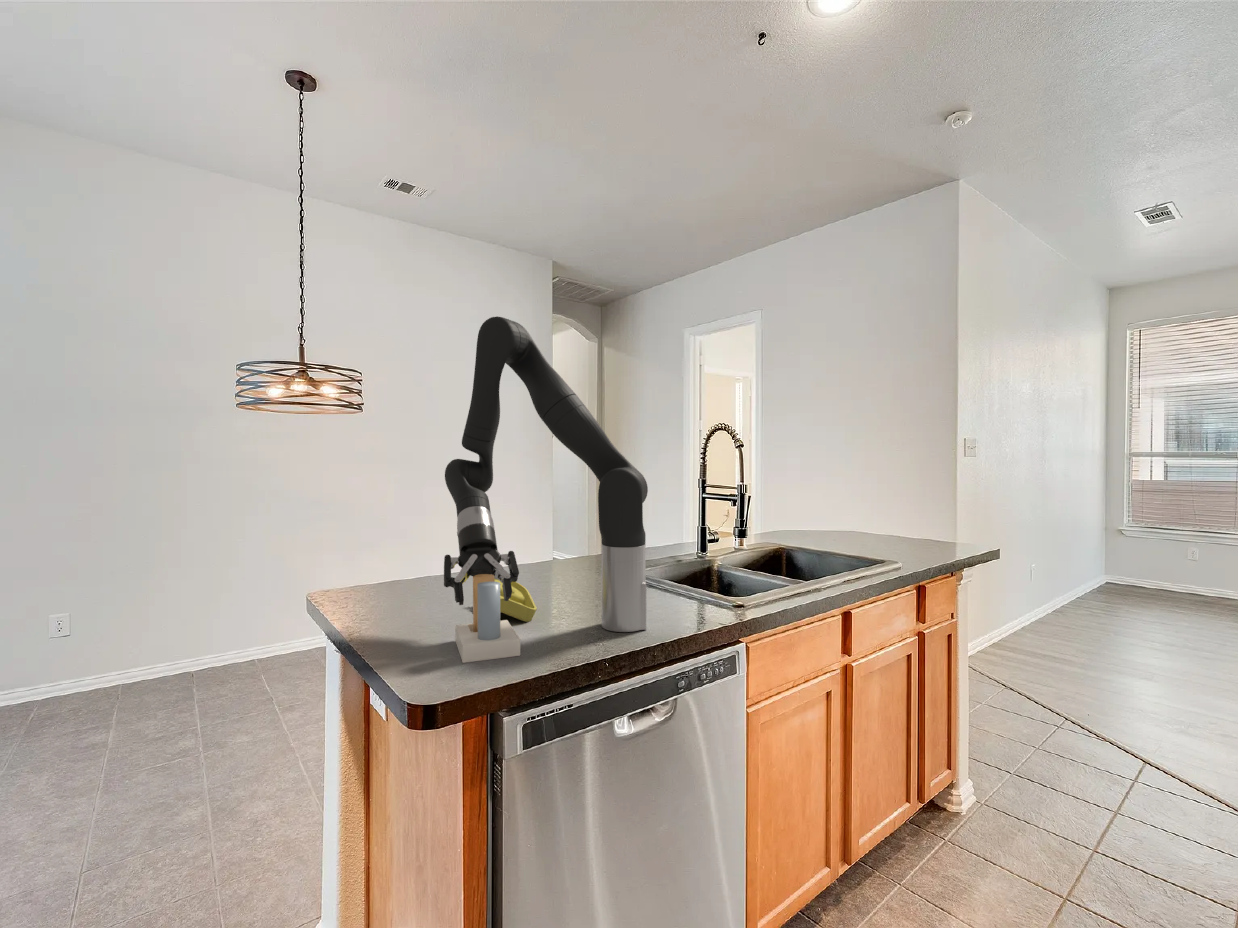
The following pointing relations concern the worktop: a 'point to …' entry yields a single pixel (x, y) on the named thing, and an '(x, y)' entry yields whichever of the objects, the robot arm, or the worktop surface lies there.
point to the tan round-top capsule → (476, 581)
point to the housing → (487, 630)
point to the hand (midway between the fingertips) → (484, 600)
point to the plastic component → (517, 602)
